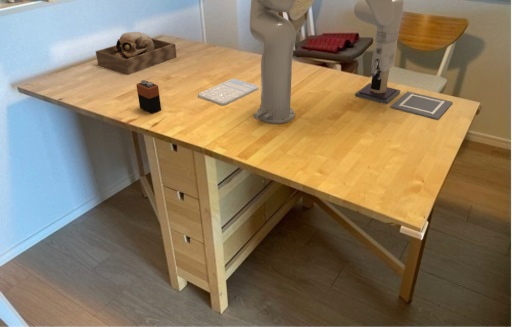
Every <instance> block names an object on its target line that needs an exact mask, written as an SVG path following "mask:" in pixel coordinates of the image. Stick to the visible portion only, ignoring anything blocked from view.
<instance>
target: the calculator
mask: <svg viewBox="0 0 512 327" xmlns="http://www.w3.org/2000/svg"><path fill="white" fill-rule="evenodd" d="M259 89H260V88H259V86H258V85H256V84H253V83H251V82H248V81H244V80H241V79H237V78H231V79H229V80H226V81H224V82H221V83H219V84H217V85H215V86H212V87H210V88H207V89H206V90H203V91H201V92H199V93H197V97H198V98H200V99H202V100H205V101H208V102H210V103H213V104H216V105H219V106H221V107H222V106H228V105H229V104H232V103H234V102H236V101H238V100H239V99H242V98H243V97H244V98H245V97H246V96H248V95H250V94H253V93H254V92H256V91H258V90H259Z"/></svg>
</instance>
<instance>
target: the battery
mask: <svg viewBox="0 0 512 327" xmlns="http://www.w3.org/2000/svg"><path fill="white" fill-rule="evenodd" d="M135 85H136V92H137V98H138V103H139V109H140V110H141V111H143V112H144V111H145V112H146V113H149V114H155V113H157V112H160V111H162V104H161V103H162V102H161V96H160V90H159V89H160V88H159V85H158V84H156V83H154V82H153V81H152V82H151V81H149V80H145V79H143V80H140V82H138V83H136V84H135Z"/></svg>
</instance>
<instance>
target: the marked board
mask: <svg viewBox="0 0 512 327" xmlns="http://www.w3.org/2000/svg"><path fill="white" fill-rule="evenodd" d="M452 105H453V101H450V100H447V99H441V98H437V97H433V96H430V95H425V94H420V93H416V92H412V91H406V92H405V93H404V94H402V95H401V96H400V97H399V98H398V99H397V100H396V101H395V102H394V103H392V104H391V105H390V106H389V108H390V109H393V110H398V111H401V112H405V113H409V114H412V115H416V116H417V115H418V116H420V117H424V118H429V119H433V120H436V121H438V120H440V118H441V117H442V116H443V115H444V114H445V113H446V112H447V110H448V109H449V108H450V107H451V106H452Z"/></svg>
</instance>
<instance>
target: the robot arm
mask: <svg viewBox="0 0 512 327" xmlns="http://www.w3.org/2000/svg"><path fill="white" fill-rule="evenodd" d="M404 3H405V2H404V0H357V1H356V3H355V4H354V6H353V14H354V16H355V17H356V19H358V20H359V21H362V22H364V23H367V24H370V25H372V26H375V32H374V33H375V34H374V41H375V44H374V49H373V53H372V59H371V67H370V68H371V81H372V82H370V83H371V89H374V90H380V85H381V79H380V78H381V75H382V72H385V71H387V70H388V69H391V68H392V67H394V65H395V63H396V62H395V61H396V55H397V54H396V53H397V42H398V41H399V40H398V39H399V33H400V29H401V21H402V15H403V10H404ZM295 4H296V0H250V10H249V12H250V13H249V31H250V34H251V36H252V38H253V39H255V41H257V42H259V43H261V44H262V45H263V51H262V55H261V58H260V59H261V61H260V91H261V92H260V105H259V108H258V109H257V110H256V112H255V113H253V114H252V115H253V116H252V117H253V119H254V120H260V121H261V122H264V123H266V124H274V125H275V124H277V125H278V124H279V125H280V124H286V123H288V122H291V121H292V120H294V118H295V117H296V112H295V110H294V109H293V108H291V97H292V96H291V95H292V94H291V93H292V73H293V72H292V68H293V55H294V49H295V44H296V41H297V40H296V39H297V32H296V29H295V27H294V25H293V24H292V22H290V20H288V19H287V18H285V17H283V16H281V15H279V13H287V12H289V11H291V10H292V9H293V8H294V6H295ZM378 68H380V70H377V69H378ZM377 72H379V75H378V73H377Z"/></svg>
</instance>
